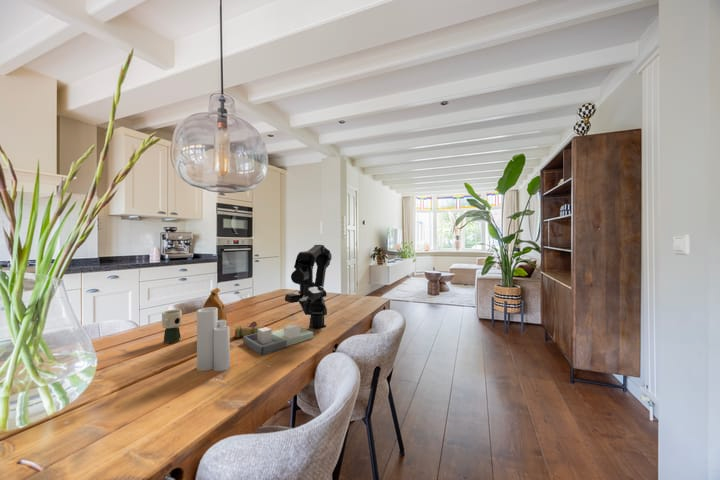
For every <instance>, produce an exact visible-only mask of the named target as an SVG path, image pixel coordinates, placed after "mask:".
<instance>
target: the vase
mask: <svg viewBox="0 0 720 480" xmlns="http://www.w3.org/2000/svg"><path fill="white" fill-rule="evenodd" d="M230 339H231V338H230V326H227V323H226V320H218V310H217V308H215V307H209V308H203V307H202V308H199V309H197V310H196V368H197V371H200V372H206V371H207V372H208V371H211V370H213V371H214V372H225V371H227V370H229V369H230V368H231V367H230V365H231V364H230V363H231V360H230V359H231V357H230V355H231V353H230V350H231V349H230V347H231V345H230Z"/></svg>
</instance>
